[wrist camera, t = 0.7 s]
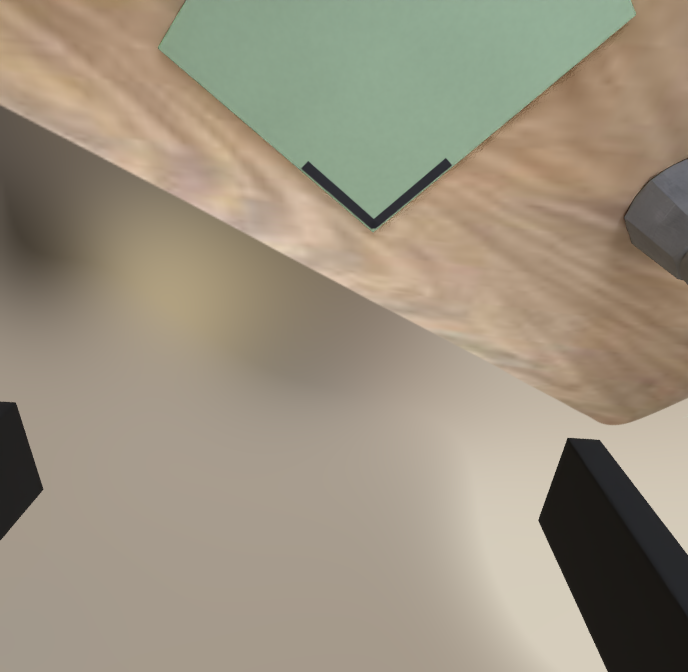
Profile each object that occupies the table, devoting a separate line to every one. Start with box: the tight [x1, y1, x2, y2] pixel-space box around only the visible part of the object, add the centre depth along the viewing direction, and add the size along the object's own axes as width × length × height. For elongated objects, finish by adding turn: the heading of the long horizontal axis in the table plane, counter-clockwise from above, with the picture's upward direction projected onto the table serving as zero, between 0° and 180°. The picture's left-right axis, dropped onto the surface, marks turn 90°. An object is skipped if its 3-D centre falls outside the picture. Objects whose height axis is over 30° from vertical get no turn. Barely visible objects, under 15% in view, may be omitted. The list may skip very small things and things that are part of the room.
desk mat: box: [158, 0, 636, 232], centre depth 28 cm, size 20×22×1 cm
